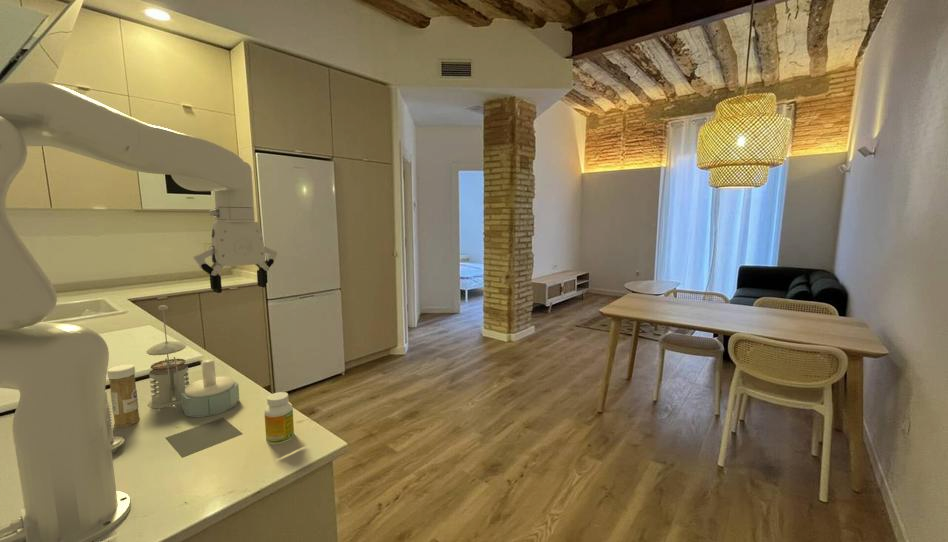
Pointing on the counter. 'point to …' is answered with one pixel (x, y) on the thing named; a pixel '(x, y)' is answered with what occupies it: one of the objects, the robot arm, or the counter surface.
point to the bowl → (210, 403)
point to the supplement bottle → (279, 419)
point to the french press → (167, 373)
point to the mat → (202, 436)
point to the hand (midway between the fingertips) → (240, 289)
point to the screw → (115, 440)
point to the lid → (209, 382)
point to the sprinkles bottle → (123, 395)
